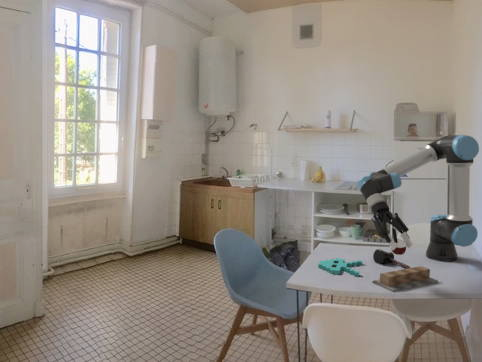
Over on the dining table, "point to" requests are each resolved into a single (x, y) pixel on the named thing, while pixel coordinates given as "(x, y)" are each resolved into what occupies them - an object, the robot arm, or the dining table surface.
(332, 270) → the alien figure
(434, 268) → the dining table surface
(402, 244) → the cocoa
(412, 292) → the dining table surface
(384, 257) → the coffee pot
